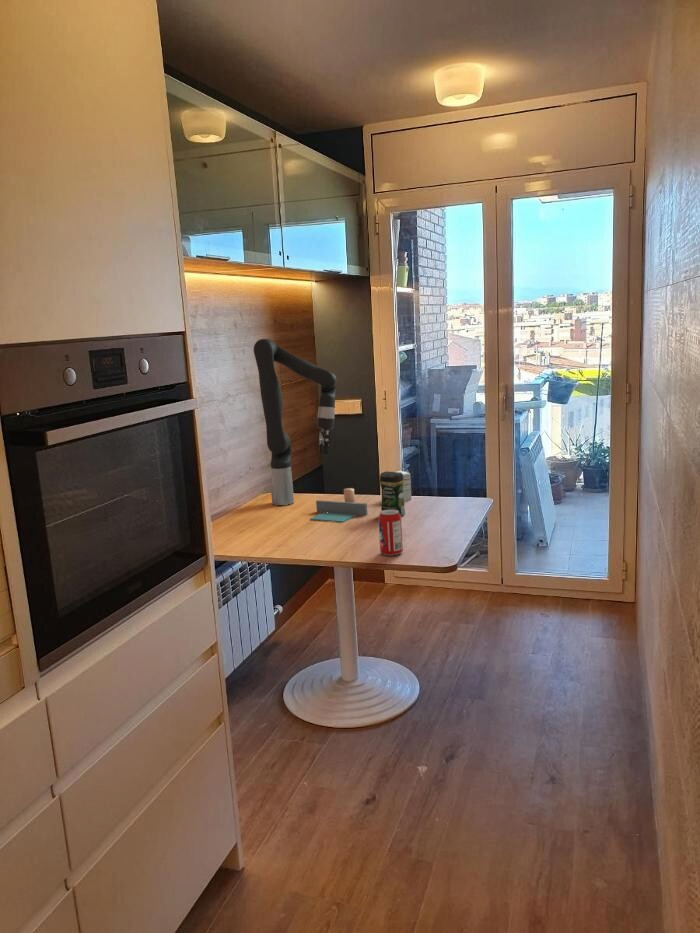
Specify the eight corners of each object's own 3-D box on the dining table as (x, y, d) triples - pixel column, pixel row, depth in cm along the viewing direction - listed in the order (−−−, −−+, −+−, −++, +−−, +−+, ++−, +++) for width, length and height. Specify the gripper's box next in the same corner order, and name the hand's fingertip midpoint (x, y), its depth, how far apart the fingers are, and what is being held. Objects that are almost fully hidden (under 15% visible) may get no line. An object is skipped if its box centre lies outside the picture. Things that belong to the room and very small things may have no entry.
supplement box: (389, 500, 332) (387, 472, 330) (403, 497, 335) (401, 470, 333) (398, 503, 326) (396, 475, 323) (412, 500, 329) (410, 472, 327)
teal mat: (309, 520, 306) (309, 518, 306) (323, 513, 315) (323, 512, 315) (343, 522, 298) (343, 521, 298) (356, 515, 308) (356, 514, 307)
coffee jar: (378, 516, 304) (375, 473, 300) (388, 512, 310) (386, 469, 307) (398, 519, 298) (396, 474, 295) (408, 514, 304) (406, 470, 301)
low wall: (316, 512, 318) (316, 501, 317) (318, 511, 320) (317, 500, 319) (365, 515, 307) (365, 504, 306) (367, 514, 308) (366, 503, 307)
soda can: (399, 557, 248) (396, 514, 246) (377, 556, 251) (374, 514, 249) (405, 550, 256) (403, 509, 253) (384, 549, 258) (382, 508, 256)
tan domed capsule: (343, 510, 318) (342, 490, 317) (347, 508, 322) (345, 488, 321) (353, 510, 317) (352, 490, 315) (356, 508, 321) (355, 488, 319)
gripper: (315, 417, 332) (312, 453, 332) (320, 416, 318) (317, 453, 318) (331, 418, 334) (328, 454, 334) (337, 417, 320) (334, 454, 320)
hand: (323, 453), depth 326 cm, fingers open, 8 cm apart
